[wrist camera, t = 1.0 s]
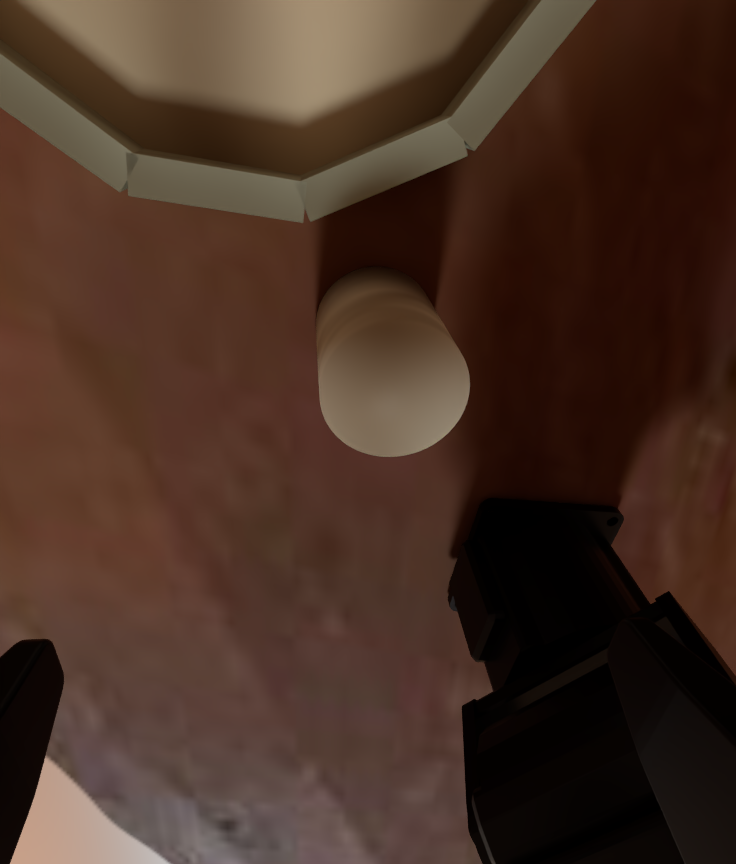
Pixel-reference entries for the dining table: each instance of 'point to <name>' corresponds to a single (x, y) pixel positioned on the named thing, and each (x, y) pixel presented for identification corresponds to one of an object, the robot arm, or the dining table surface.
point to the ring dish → (271, 91)
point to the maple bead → (387, 364)
